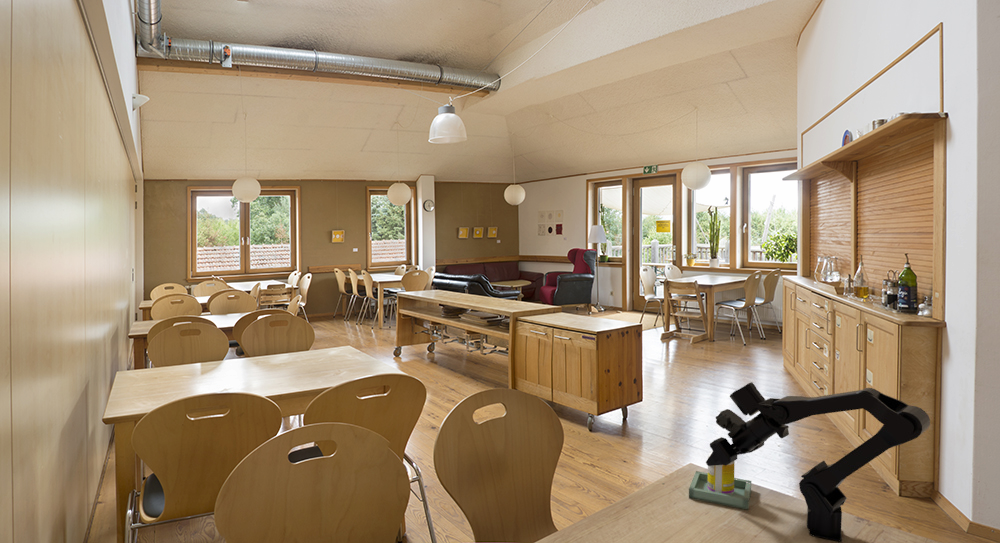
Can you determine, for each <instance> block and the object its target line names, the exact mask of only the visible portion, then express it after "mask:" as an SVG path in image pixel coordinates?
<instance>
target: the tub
mask: <svg viewBox="0 0 1000 543" xmlns="http://www.w3.org/2000/svg"><path fill="white" fill-rule="evenodd" d="M736 479H737V480H736ZM746 482H748V483H746ZM749 483H750V484H749ZM751 492H752V480H748V479H741V478H737V477H734V493H733V495H729V494H723V493H718V492H713V491H709V490H708V472H702V471H700V470H699V471H697V470H696V471H695V473H694V475H693V477H692V479H691V482H690V485H689V487H688V499H690V500H691V499H692V500H697V501H703V502H707V503H712V504H716V505H721V506H726V507H731V508H735V509H737V508H738V509H743V510H746V511H747V510H749V504H750V500H751Z"/></svg>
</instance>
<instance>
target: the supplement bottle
mask: <svg viewBox="0 0 1000 543" xmlns="http://www.w3.org/2000/svg"><path fill="white" fill-rule="evenodd" d="M712 452H713V451H711V452H709V454H707V455H708V456H707V459H708V458H709V457H710V455H711V454H712ZM707 473H708V490H709V491H713V492H718V493H723V494H729V495H733V493H734V478H735V461H733V462H732V463H730V464H728V465H726V466H725V465H714V466H708V465H707Z"/></svg>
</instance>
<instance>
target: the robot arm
mask: <svg viewBox="0 0 1000 543" xmlns="http://www.w3.org/2000/svg"><path fill="white" fill-rule="evenodd" d="M729 399H731V400H732V402H733V403H734V404H735V405H736V407H737V408H738V409H739V410H740V412H741V413H742V414H743V415H744V416H745V417H746V416H747V415H748V416H749V417H752V416H754V415H756V414H757V413H758V414H757V415H756V416H754V417H753V418H751V419H750V420H747V421H745V420H743V418H742V417H741V416H740V415H738V414H736V413H735V412H734V411H732V410H731V409H730V408H729V409H724V410H722V411H720V412H719V414H717V416H715V423H716V424H717V425H718V426H719V427H720V428H722V429H723V430H724V429H725V430H726V431H727V432H728V433H727V436H728V437H729V438H730V439H731V442H732V444H731V443H730V442H729V440H728V439H727V438H726V437H722V436H721V437H719V438H716V439H714V440H713V441H712V442H710V443H709V447H710V449H711V450H712V451H711V452H712V454H711V455H710V457H709V458H708V457H707V460H706V461H705V464H706V465H707V467H708V466H714V465H725V466H726V465H728V464H730V463H732V462H733V461H734V462H735V461H737V460H738V456H739V455H745V454H750V453H753V452H755V451H757V450H759V449H761V448H762V447H763V446H765V442H766V441H767V440H768V439H770V438H771V437H772V436H774V435H776V434H777V435H778V437H779V439H784V438H785V437H789V435H790V434H789V425H788V424H792V423H795V422H797V421H800V420H805V419H806V418H810V417H812V416H819V415H825V414H826V415H827V414H833V413H840V412H847V411H854V410H864V411H866V412H868V413H869V414H871V416H873V417H874V418H875V419H876V420H877V421H878V422H879V423H881V424H883V425H882V426H881V427H880V429H878V431H877V432H876V433H875V434H874V435H872V436H871V437H870V438H868V439H867V440H865V441H864V442H863V443H861V444H859V445H858V446H857V447H855V448H854V449H853V450H851V451H849V452H848V453H847V454H846V455H844V456H843V457H842V458H840V459H839V460H837V461H835V462H834V463H831V464H827V463H826V461H825V460H822V461H820V462H819V463H818V464H816V465H815V466H813V467H811V469H809V470H807V471H806V472H805V473H803V474H802V475H801V477H800V478H802V479H801V480H800V481H799V483H798V485H799V490H800V493H801V495H802V497H804V500H805V503H806V506H807V507H806V508H807V510H806V513H807V515H806V529H808V531H809V536H812V537H816V538H821V539H826V540H831V541H834V542H843V538H842V537H843V536H842V523H843V522H842V521H843V520H842V519H843V518H842V517H843V514H842V513H843V509H842V506H843V505H844V504H845V503H846V500H847V496H846V495H845V493H843V491H842V490H841V489H840V488H839V486H841V484H842V483H843V482H844V481H845V479H847V478H848V477H849V476H851V475H853V474H854V473H855V472H856V471H859V469H861V468H862V467H864V466H865V465H867V464H869V463H871V461H873V460H874V459H876V458H877V457H879V456H880V455H882V454H883V453H884V452H886V451H888V450H889V449H891V448H895V447H897V446H900V445H903V444H906V443H908V442H911V441H913V440H915V439H918V438H919V437H920V436H922V434H923V433H925V432H926V431H927V430H928V429H929V428H930V427H931V419H930V416H929V414H928V413H927V411H925V409H924V410H923V409H922V408H921V407H918V406H915V405H910V404H908V403H905V402H904V401H902V400H900V399H897V398H895V397H892V396H890V395H887V394H884V393H882V392H881V391H879V390H877V389H876V388H873V387H865V388H864V389H863V388H862V389H860V390H859V389H857V390H852V391H847V392H840V393H835V394H826V395H820V396H814V397H813V396H803V395H795V396H794V395H786V396H784V397H782V398H773V397H771V398H767V399H766V398H765V397H764V396H763V395H762V394H761V393H760V391H759V390H758V389H757V386H755V383H754V382H751V381H750V382H748V383H747V384H746V385H743V387H741V388H739V389H736V390H735V391H733V392H731V393H730V395H729Z"/></svg>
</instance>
